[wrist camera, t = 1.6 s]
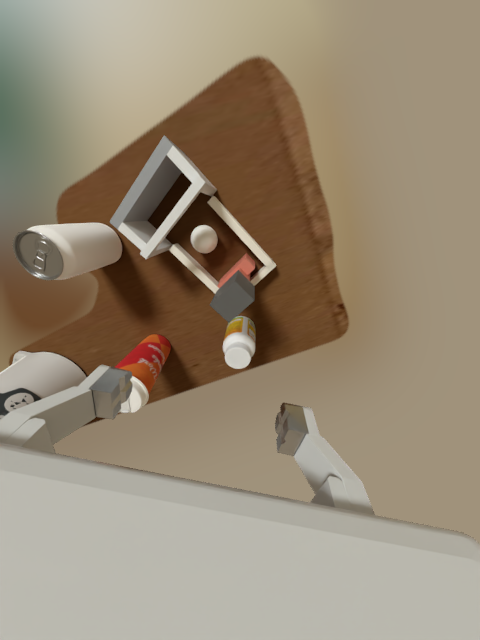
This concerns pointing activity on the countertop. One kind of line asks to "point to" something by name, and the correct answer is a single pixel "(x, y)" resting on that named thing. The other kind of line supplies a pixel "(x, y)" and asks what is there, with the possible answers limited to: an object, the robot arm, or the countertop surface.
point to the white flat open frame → (242, 234)
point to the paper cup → (144, 369)
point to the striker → (235, 289)
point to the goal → (158, 198)
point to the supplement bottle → (239, 342)
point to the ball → (204, 239)
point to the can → (66, 249)
